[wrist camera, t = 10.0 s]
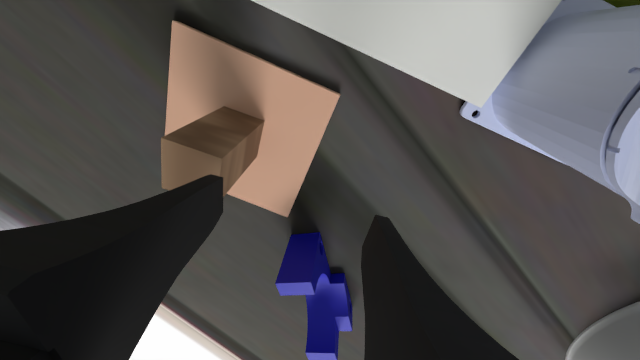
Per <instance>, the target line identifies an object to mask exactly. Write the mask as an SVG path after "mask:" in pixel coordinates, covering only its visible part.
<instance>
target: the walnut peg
mask: <svg viewBox="0 0 640 360" xmlns="http://www.w3.org/2000/svg"><path fill="white" fill-rule="evenodd" d="M264 122H265V121H264V120H262V119H259V118H256V117H253V116H250V115H248V114H245V113H242V112H239V111H236V110H234V109H231V108H228V107H225V106H223V107H221V108H219V109H217V110H215V111H213V112H211V113H209V114H207V115H205V116H203V117H201V118H199V119H197V120H195V121H193V122H191V123H189V124H187V125H185V126H183V127H181V128H179V129H177V130H175V131H174V132H172V133H170V134H168V135H166V136H164V137H162V138H161V166H162V188H164V189H167V190H172V189H175V188H177V187H180V186H182V185H184V184H187V183H189V182H192V181H194V180H196V179H199V178H201V177H204V176H207V175H210V174H212V175H216V176H220V177H223V197H224V196H225V194H226V193H227V192H228V191H229V190H230V188H231V187H232V186H233V185H234V184H235V182H236V181H237V180H238V179H239V178H240V176H241V175H242V174H243V173H244V172H245V170H246V169H247V168H248V167H249V166H250V164H251V163H252V162H253V161H254V160H255V158H256V157H257V155H258V150H259V145H260V140H261V136H262V131H263V126H264Z"/></svg>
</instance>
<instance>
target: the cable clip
mask: <svg viewBox="0 0 640 360" xmlns="http://www.w3.org/2000/svg"><path fill="white" fill-rule="evenodd" d="M275 284H276V286H277V289H278V291H279V293H280V295H306V301H307V312H308V333H307V345H306V355H307V357H308V360H337V357H338V338H339V331H352V304H351V299H350V295H349V291H348V286H347V282H346V278H345V274H344V273H335V274H331V272H330V268H329V265H328V261H327V257H326V254H325V250H324V246H323V243H322V239H321V235H320V232H318V233H306V234H294V235H291V237H290V240H289V243H288V246H287V249H286V252H285V255H284V258H283V261H282V264H281V268H280V271H279V274H278V277H277V280H276V283H275Z"/></svg>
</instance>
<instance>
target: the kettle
mask: <svg viewBox="0 0 640 360" xmlns="http://www.w3.org/2000/svg"><path fill="white" fill-rule="evenodd" d="M566 360H640V301H639V302H636V303H634V304H631V305H629V306H626V307H624V308H621V309H619V310H617V311H615V312H613V313H611V314H609V315H607V316H605V317H603V318H601V319H600V320H598V321H596V322H595V323H593V324H592V325H590V326H589V327H588V328H586V329H585V330H584V331H583V332H581V333H580V334H579V335H578V336H577V337H576V338H575V339H574V341H573V342H572V343H571V345H570V346H569V348H568V350H567V353H566Z"/></svg>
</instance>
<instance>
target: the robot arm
mask: <svg viewBox="0 0 640 360" xmlns="http://www.w3.org/2000/svg"><path fill="white" fill-rule="evenodd" d="M476 110H478V113H477V115H476V116H473V117H472V113H473V112H474V111H476ZM460 114H461V116H463V117H464V118H466V119H468V120H470V121H472V122H475V123H477V124H479V125H481V126H483V127H485V128H488V129H490V130H492V131H494V132H496V133H498V134H501V135H503V136H505V137H507V138H509V139H511V140H514V141H516V142H518V143H520V144H522V145H524V146H527V147H529V148H531V149H533V150H535V151H538V152H540V153H542V154H544V155H546V156H548V157H551V158H553V159H555V160H557V161H559V162H561V163H564V164H566V165H569V166H571V167H572V168H574V169H576V170H577V171H579V172H581V173H583V174H584V175H586V176H588V177H590V178H591V179H593V180H595V181H597V182H598V183H600V184H602V185H604V186H605V187H607V188H609V189H610V190H612V191H614V192H616V193H617V194H619V195H621V196H623V197H624V198H625V199H627V200H628V201H629V203H630V205H631V208H632V213H631V219H633V220H634V221H636V222H637V223H639V224H640V5H634V6H626V7H619V8H616V7H615V6H613V5H611V4H609V3H607V2H605V1H603V0H562V1H561V2H560V3H559V5H558V6H557V7H556V9H555V10H554V11H553V13H552V14H551V15H550V17H549V18H548V19H547V21H546V22H545V23H544V25H543V26H542V27H541V29H540V30H539V31H538V33H537V34H536V35H535V37H534V38H533V39H532V41H531V42H530V43H529V45H528V46H527V47H526V49H525V50H524V51H523V53H522V54H521V55H520V57H519V58H518V59H517V61H516V62H515V63H514V65H513V66H512V67H511V69H510V70H509V72H508V73H507V74H506V76H505V77H504V78H503V80H502V81H501V82H500V84H499V85H498V86H497V88H496V89H495V90H494V92H493V93H492V94H491V96H490V97H489V98H488V100H487V101H486V102H485V104H484V105H483V106H482V108H480V107H478V106H476V105H473V104H471V103H469V102H467V101H465V103H464V104H463V105H462V107H461V109H460ZM222 213H223V177H220V176H216V175H212V174H210V175H207V176H204V177H201V178H199V179H196V180H194V181H192V182H189V183H187V184H184V185H182V186H180V187H177V188H175V189H172V190H170V191H167V192H165V193H162V194H159V195H156V196H154V197H151V198H148V199H145V200H143V201H140V202H137V203H133V204H130V205H127V206H124V207H120V208H117V209H113V210H109V211H106V212H101V213H97V214H93V215H88V216H84V217H80V218H75V219H71V220H66V221H60V222H55V223H50V224H44V225H38V226H32V227H25V228H19V229H11V230H3V231H0V360H129V358H130V356H131V354H132V353H133V351H134V349H135V347H136V345H137V344H138V342H139V340H140V338H141V336H142V335H143V333H144V331H145V329H146V327H147V326H148V324H149V322H150V320H151V319H152V317H153V315H154V314H155V312H156V310H157V309H158V307H159V305H160V304H161V302H162V300H163V299H164V297H165V295H166V294H167V292H168V291H169V289H170V287H171V286H172V284H173V283H174V281H175V279H176V278H177V276H178V275H179V274H180V272H181V271H182V269H183V268H184V267H185V265H186V264H187V263H188V262H189V260H190V259H191V258H192V256H193V255H194V254H195V253H196V251H197V250H198V249H199V247H200V246H201V245H202V243H203V242H204V241H205V240H206V238H207V237H208V236H209V234H210V233H211V232H212V230H213V229H214V227H215V225H216V224H217V222H218V220H219V218H220V216H221V215H222ZM361 270H362V283H363V296H364V309H365V358H364V360H519V359H517V358H516V357H515V356H514V355H512V354H511V353H510V352H509V351H507V350H506V349H505V348H503V347H502V346H501V345H500V344H499V343H498V342H496V341H495V340H494V339H493V338H492V337H491V336H489V335H488V334H487V333H486V332H485V331H484V330H482V329H481V328H480V327H479V326H478V325H477V324H476V323H475V322H474V321H473V320H471V319H470V318H469V317H468V316H467V315H466V314H465V313H464V312H463V311H462V310H461V309H460V308H459V307H458V306H457V305H456V304H455V303H454V302H453V301H452V300H451V299H450V298H449V297H448V296H447V295H446V294H445V293H444V291H443V290H442V289H441V288H440V287H439V286H438V285H437V284H436V283H435V281H434V280H433V279H432V278H431V277H430V276H429V274H428V273H427V272H426V271H425V269H424V268H423V267H422V266H421V264H420V263H419V262H418V260H417V259H416V258H415V256H414V255H413V254H412V252H411V251H410V249H409V248H408V246H407V245H406V244H405V242H404V241H403V239H402V238H401V236H400V235H399V233H398V232H397V230H396V228H395V227H394V225H393V224H392V222H391V221H390V219H389V218H387V217H383V216H379V215H375V217H374V220H373V222H372V224H371V227H370V229H369V231H368V234H367V236H366V239H365V241H364V243H363V246H362V261H361Z"/></svg>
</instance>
